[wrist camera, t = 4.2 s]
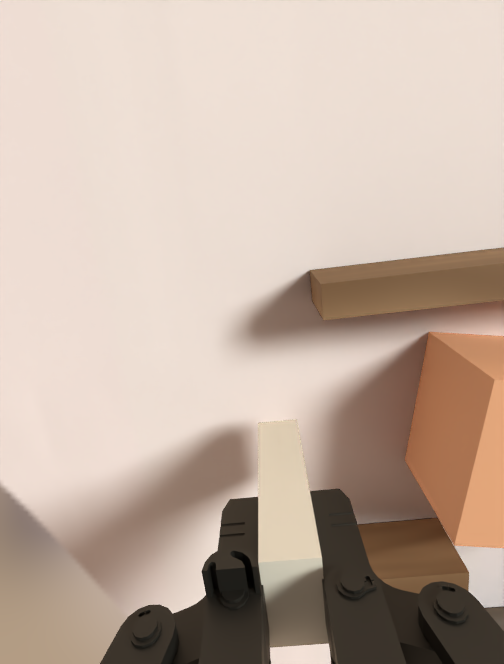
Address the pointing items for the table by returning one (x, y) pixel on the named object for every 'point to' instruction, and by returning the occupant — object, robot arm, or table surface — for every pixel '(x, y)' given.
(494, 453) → the terracotta block
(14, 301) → the table surface
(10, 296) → the table surface
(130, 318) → the table surface
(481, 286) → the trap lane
